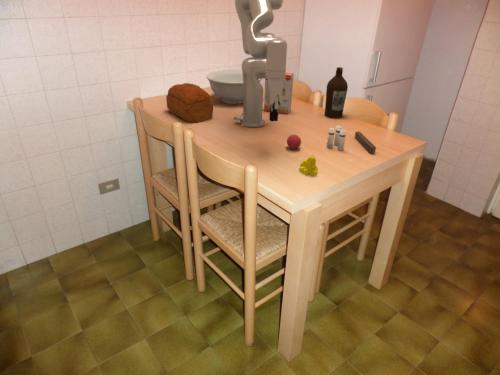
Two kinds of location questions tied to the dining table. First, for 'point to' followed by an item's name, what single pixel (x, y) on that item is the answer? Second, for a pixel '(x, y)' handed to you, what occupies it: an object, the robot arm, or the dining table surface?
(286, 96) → the cracker box
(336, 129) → the pin
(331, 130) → the front pin
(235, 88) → the bowl
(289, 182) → the dining table surface
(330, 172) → the dining table surface
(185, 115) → the bread
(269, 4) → the robot arm
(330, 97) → the olive oil
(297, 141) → the ball
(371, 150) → the dark grey bar
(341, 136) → the pin
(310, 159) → the grapes
